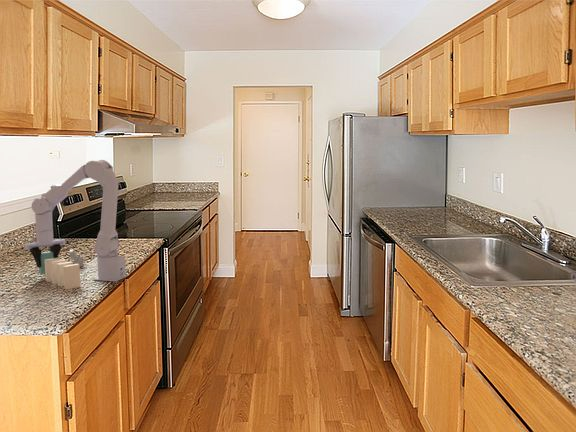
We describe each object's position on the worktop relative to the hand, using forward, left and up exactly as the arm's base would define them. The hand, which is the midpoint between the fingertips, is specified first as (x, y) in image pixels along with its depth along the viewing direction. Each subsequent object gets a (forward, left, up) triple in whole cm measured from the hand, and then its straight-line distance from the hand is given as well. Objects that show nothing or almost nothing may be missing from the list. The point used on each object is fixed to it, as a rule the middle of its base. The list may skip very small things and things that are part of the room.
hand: (46, 265), depth 201 cm
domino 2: (-9, +5, -5) cm, 11 cm away
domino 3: (-13, +7, -5) cm, 16 cm away
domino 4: (-17, +10, -5) cm, 21 cm away
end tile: (0, 0, -3) cm, 3 cm away
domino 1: (-4, +2, -5) cm, 7 cm away
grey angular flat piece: (-1, -17, -5) cm, 18 cm away
